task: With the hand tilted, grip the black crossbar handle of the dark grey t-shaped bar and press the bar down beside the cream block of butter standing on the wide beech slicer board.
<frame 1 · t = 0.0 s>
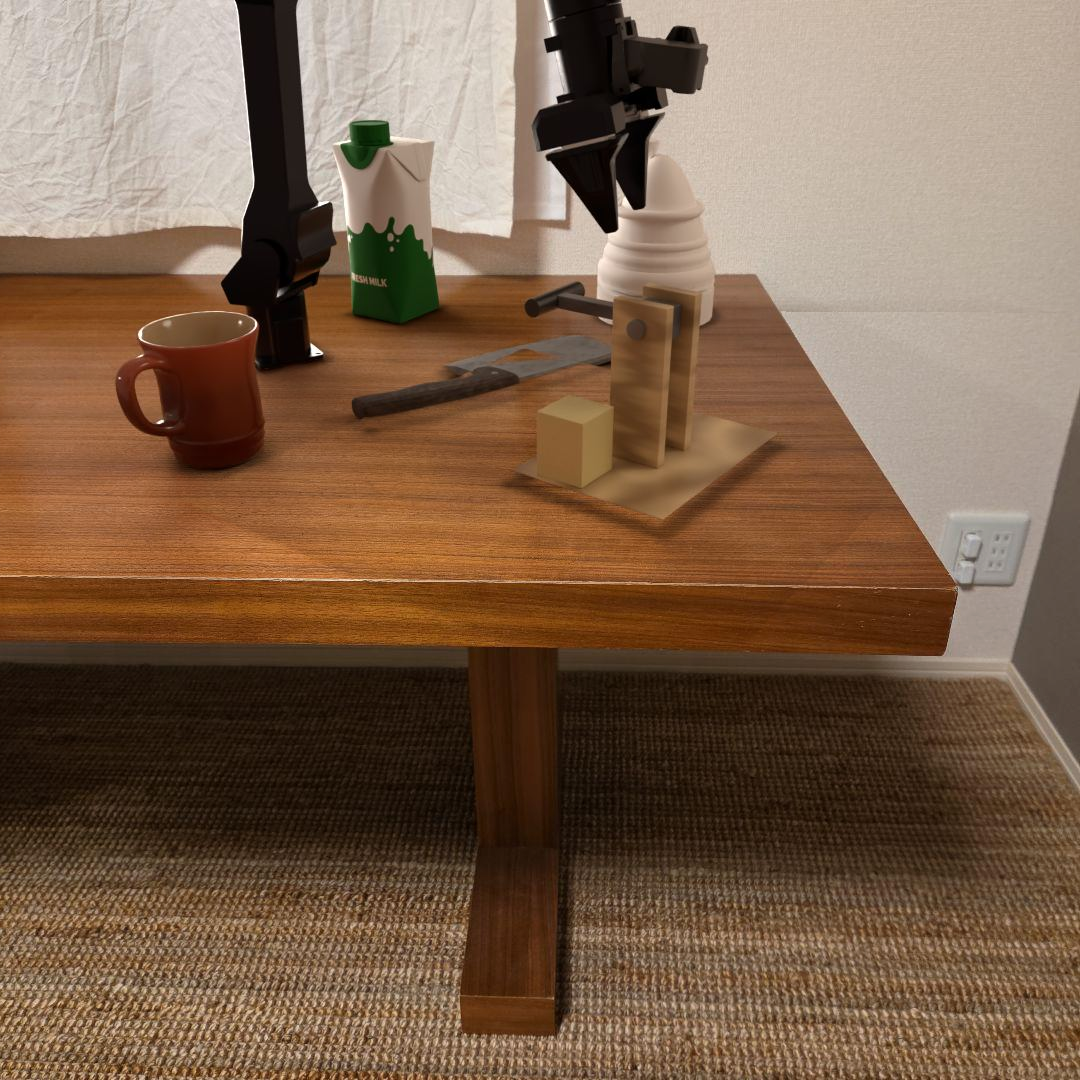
hand: (626, 220, 83), 15 cm above the table, tool pointing down, fingers open, 9 cm apart
slicer: (648, 464, 78), on the table
dark grey t-shaped bar: (608, 310, 75), point 11 cm above the table, hinge at 0.0°
mug: (205, 463, 79), on the table
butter: (574, 471, 74), point 1 cm above the table, touching slicer
honey pot: (653, 315, 113), on the table
milk carton: (397, 312, 114), on the table
cleaver: (488, 383, 94), on the table
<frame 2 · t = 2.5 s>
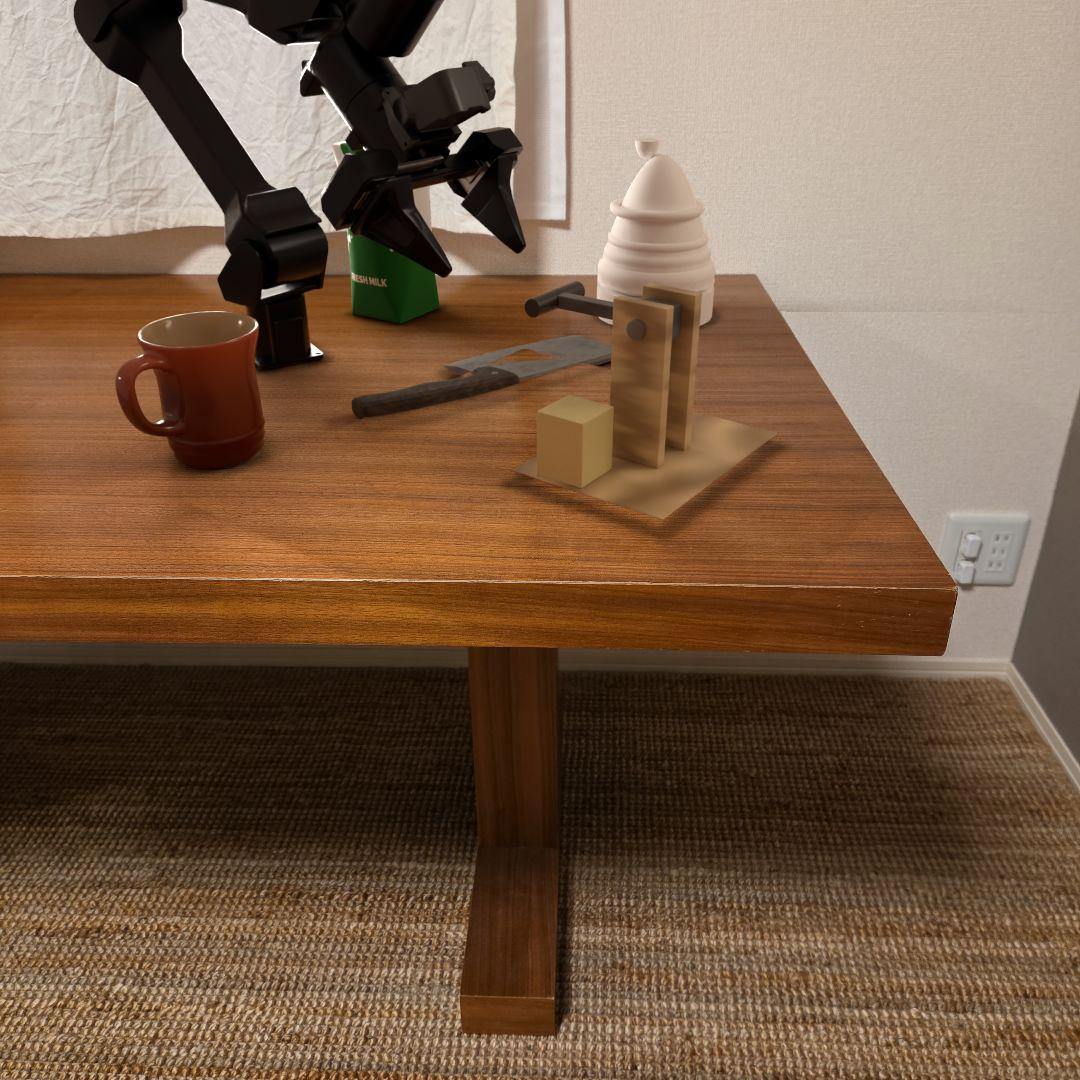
hand: (486, 261, 80), 13 cm above the table, tool tilted 45°, fingers open, 9 cm apart
nothing on the table moved.
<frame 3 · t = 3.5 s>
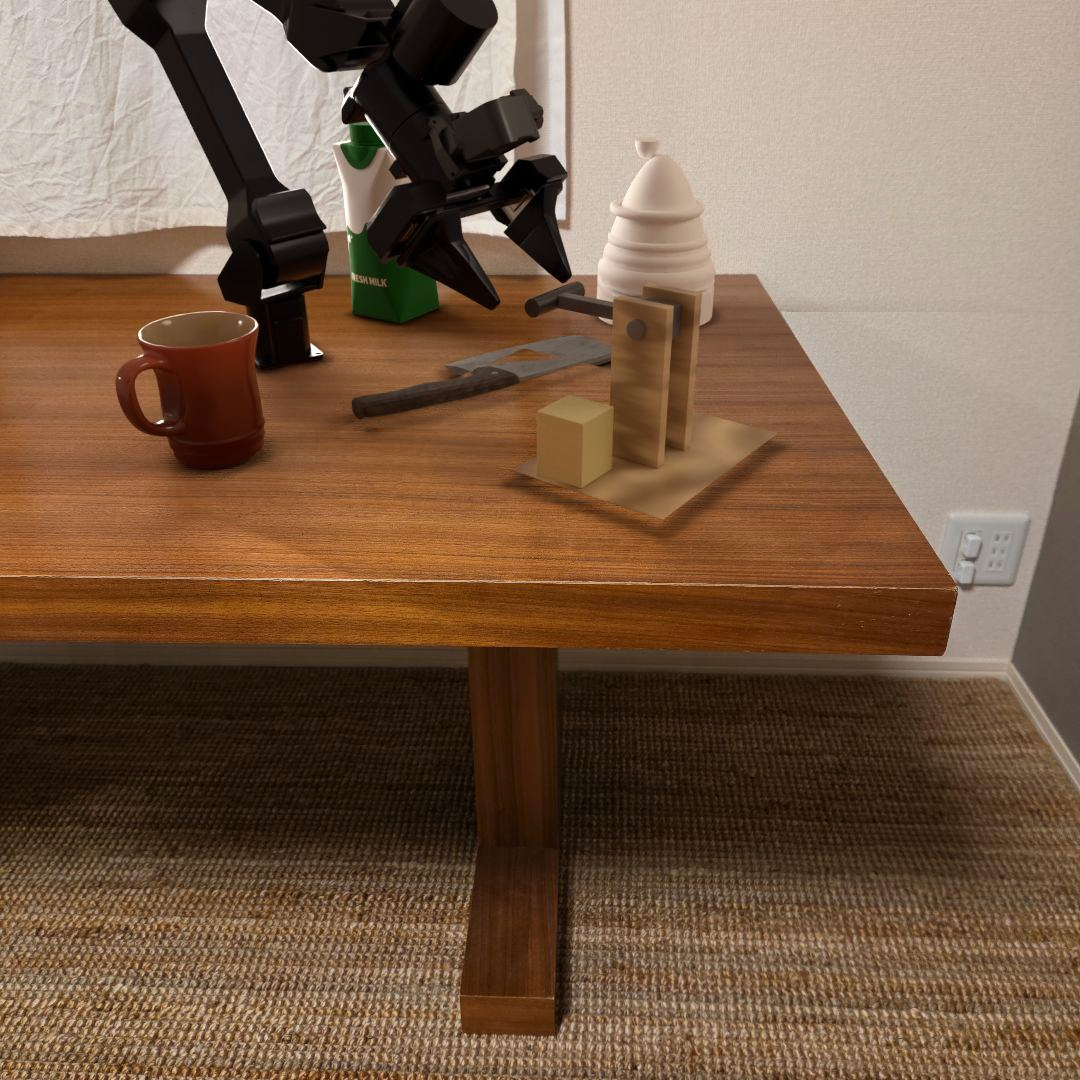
hand: (533, 292, 78), 12 cm above the table, tool tilted 45°, fingers open, 9 cm apart
nothing on the table moved.
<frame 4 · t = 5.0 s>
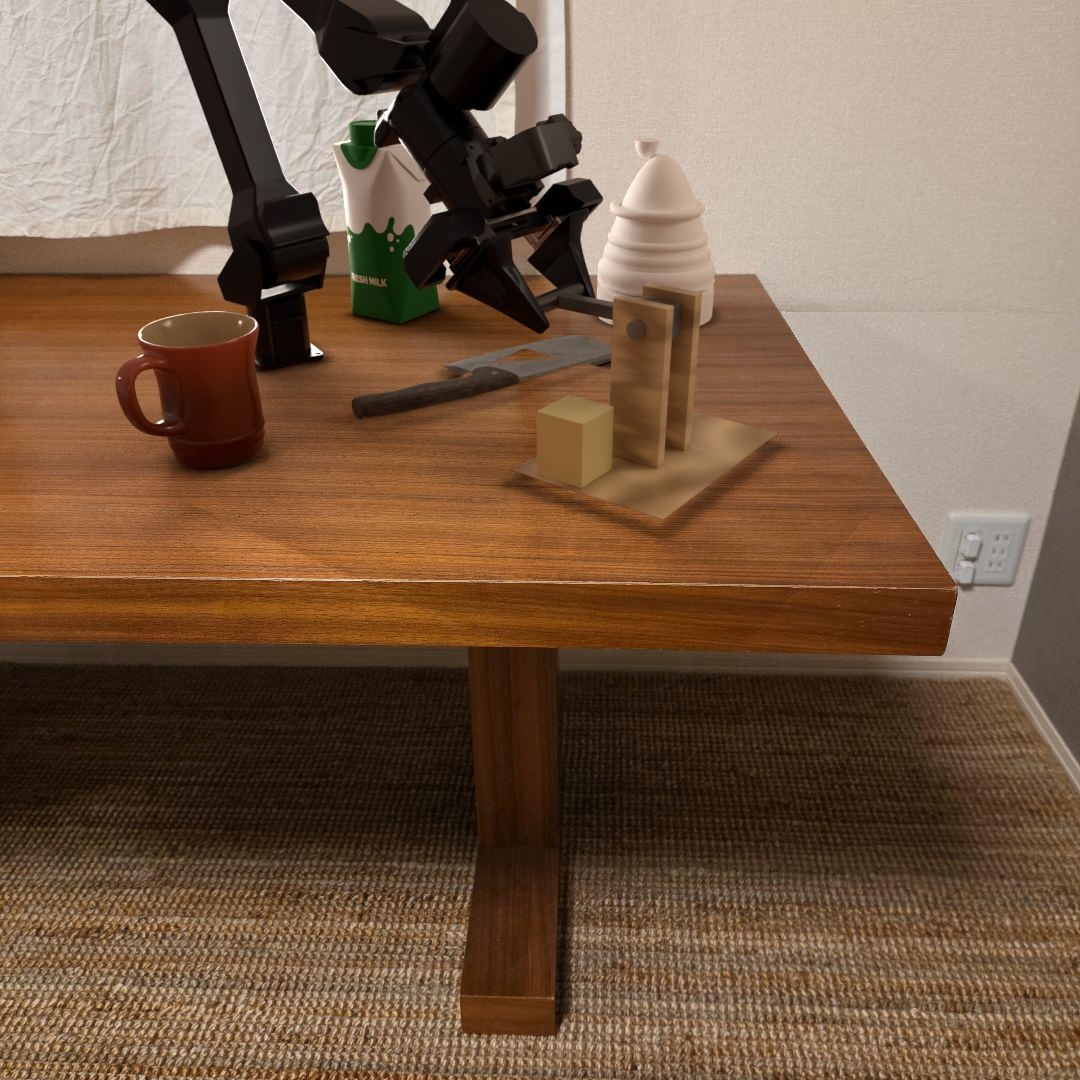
hand: (569, 320, 77), 10 cm above the table, tool tilted 45°, fingers closed on dark grey t-shaped bar, 6 cm apart
dark grey t-shaped bar: (608, 310, 75), point 11 cm above the table, hinge at 0.0°, touching gripper
everything else where it was.
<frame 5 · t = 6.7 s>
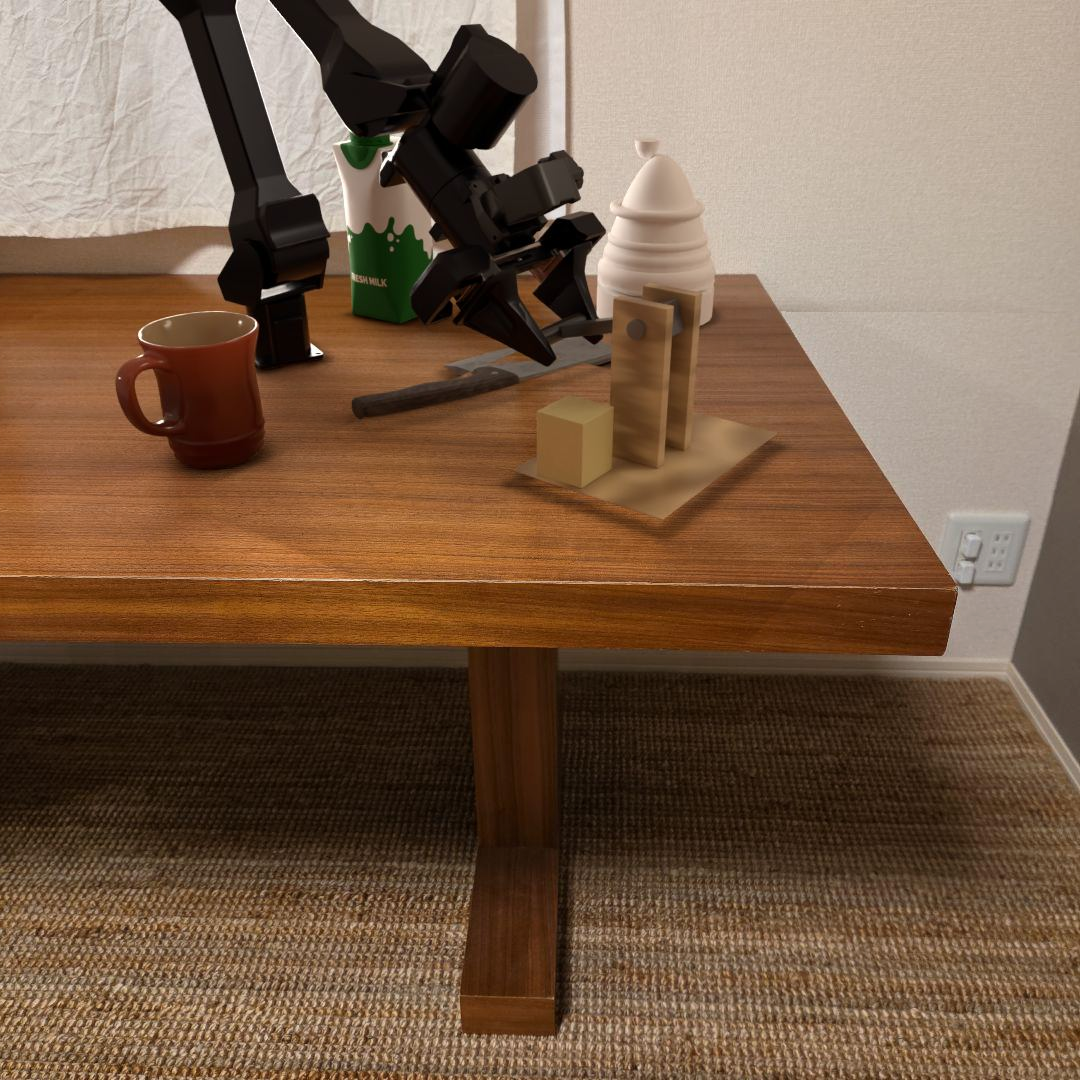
hand: (576, 352, 78), 8 cm above the table, tool tilted 45°, fingers closed on dark grey t-shaped bar, 6 cm apart
dark grey t-shaped bar: (609, 325, 75), point 10 cm above the table, hinge at -15.9°, touching gripper
everything else where it was.
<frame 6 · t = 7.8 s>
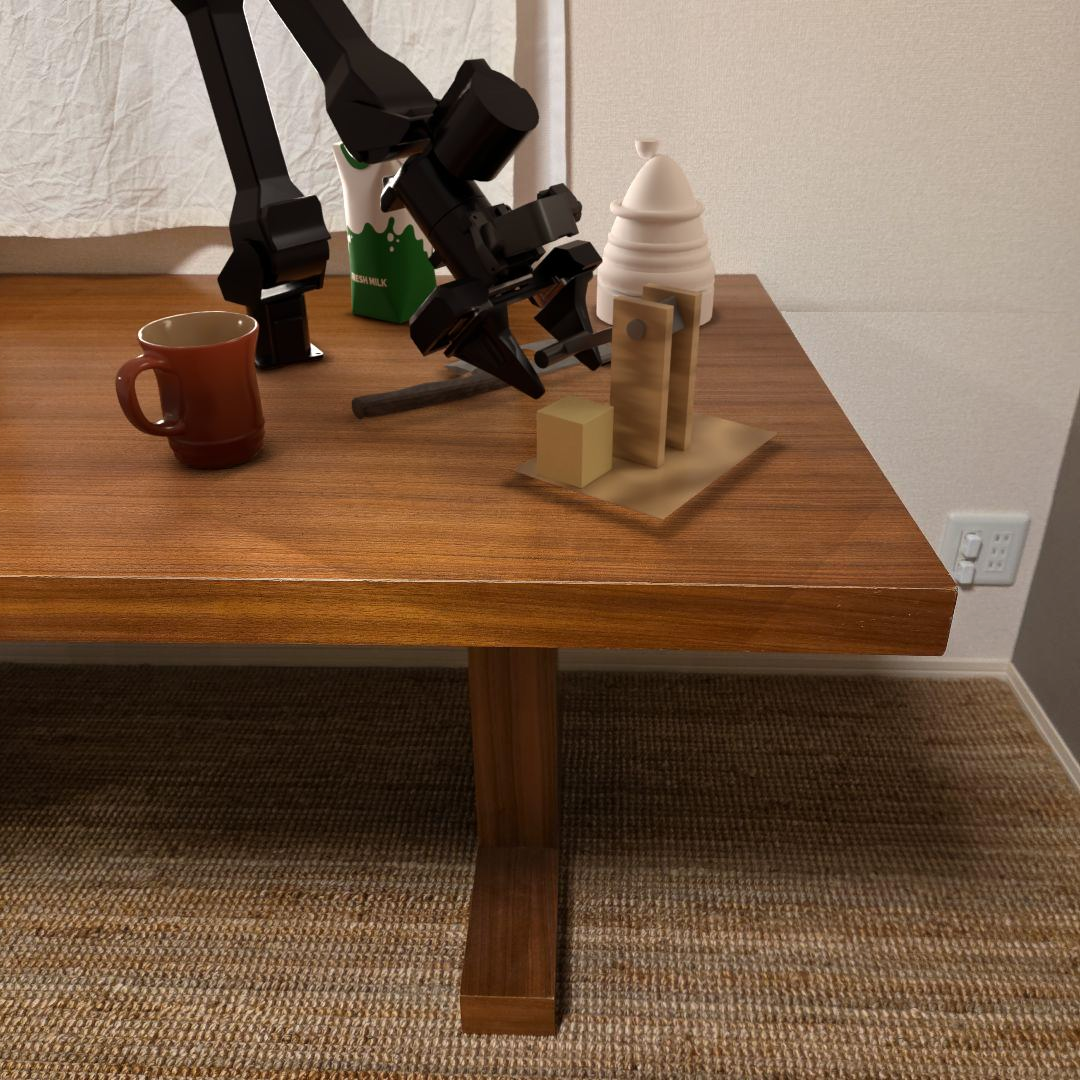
hand: (570, 381, 80), 5 cm above the table, tool tilted 45°, fingers open, 7 cm apart
dark grey t-shaped bar: (612, 334, 75), point 10 cm above the table, hinge at -25.1°
everything else where it was.
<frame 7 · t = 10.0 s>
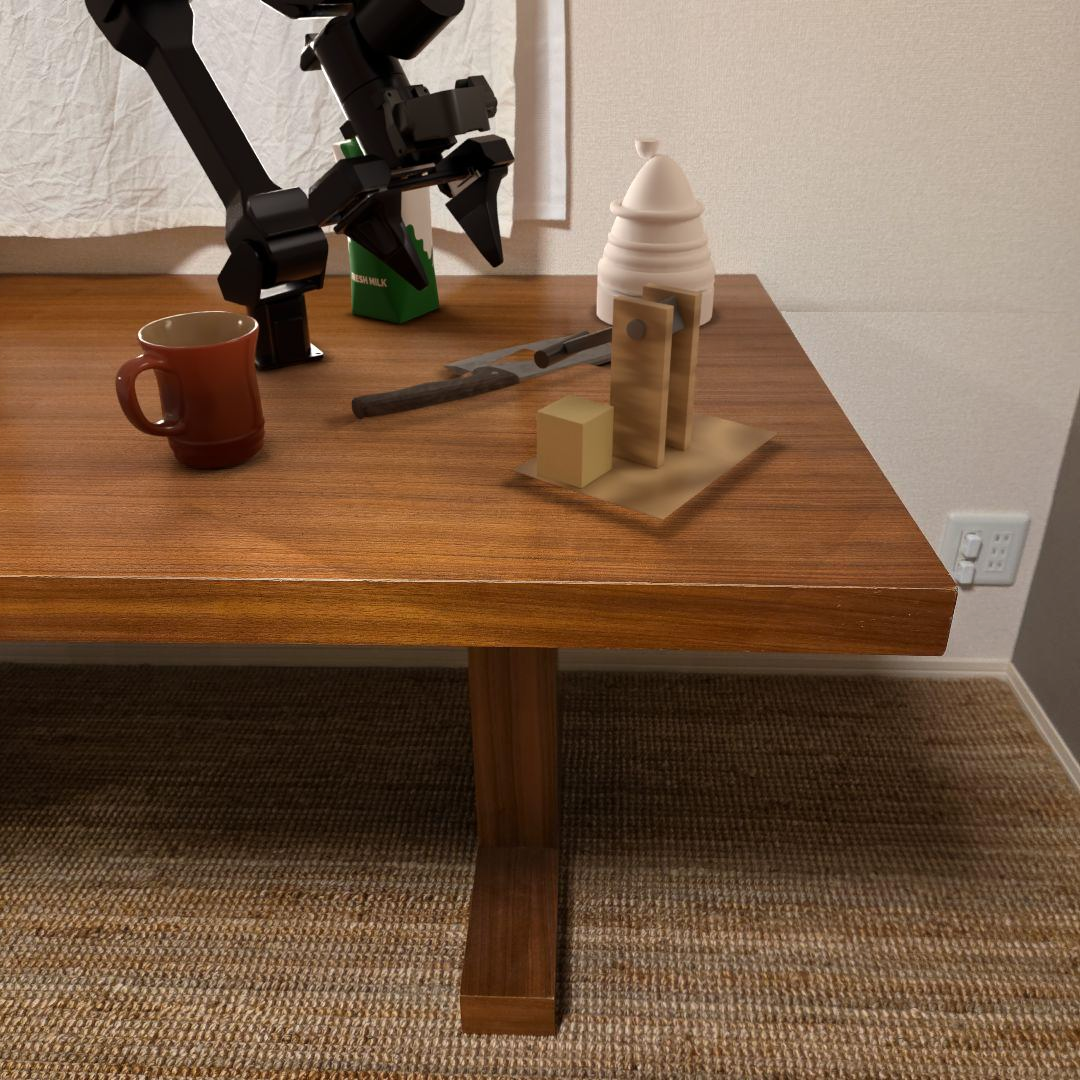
hand: (463, 276, 81), 12 cm above the table, tool tilted 35°, fingers open, 9 cm apart
nothing on the table moved.
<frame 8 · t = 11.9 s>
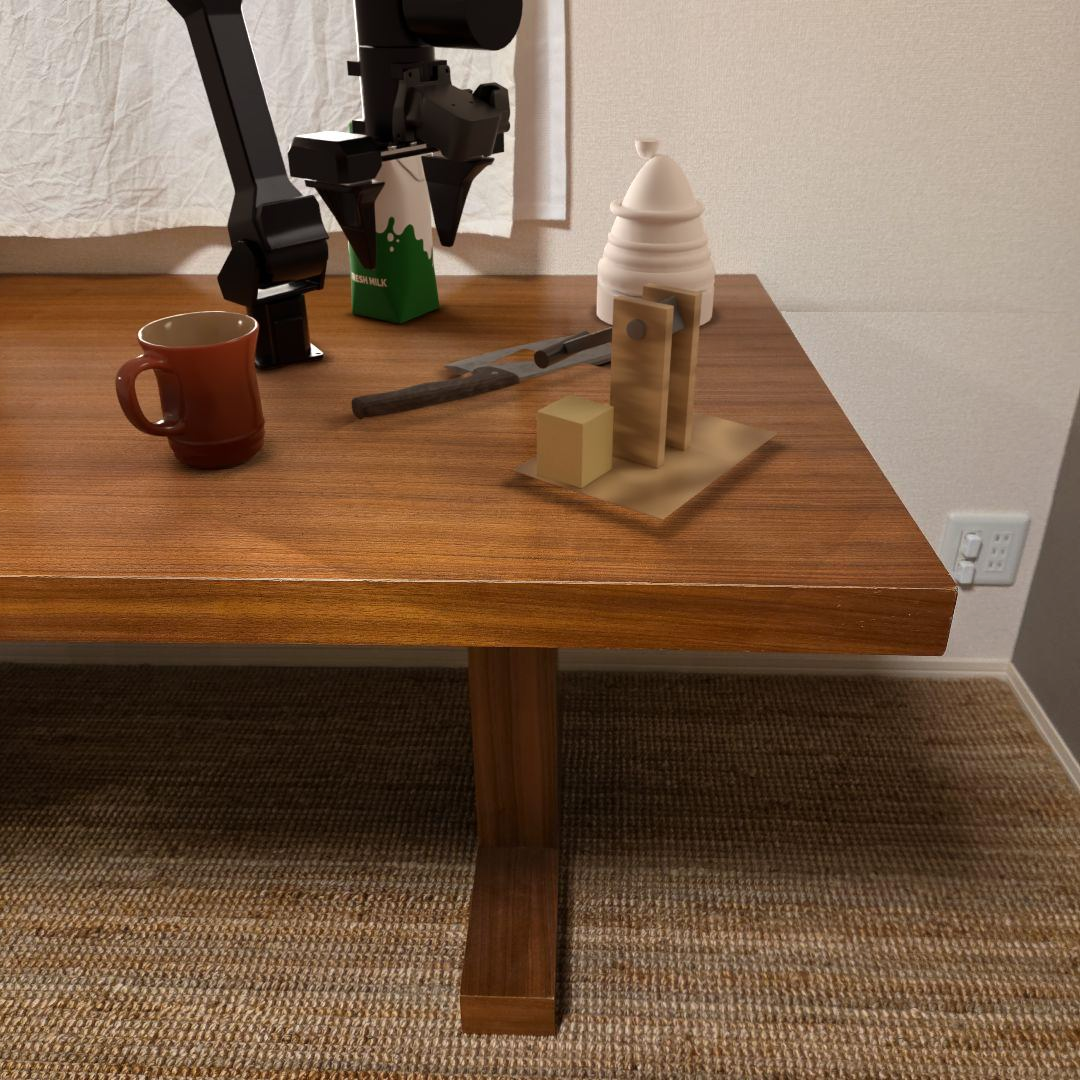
hand: (409, 257, 82), 13 cm above the table, tool pointing down, fingers open, 9 cm apart
nothing on the table moved.
at the end: dark grey t-shaped bar at -25° (first picture: +0°); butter 0.1 cm from the target spot on the slicer, point 1.2 cm above the slicer's base; cleaver moved 0.2 cm from its start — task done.
